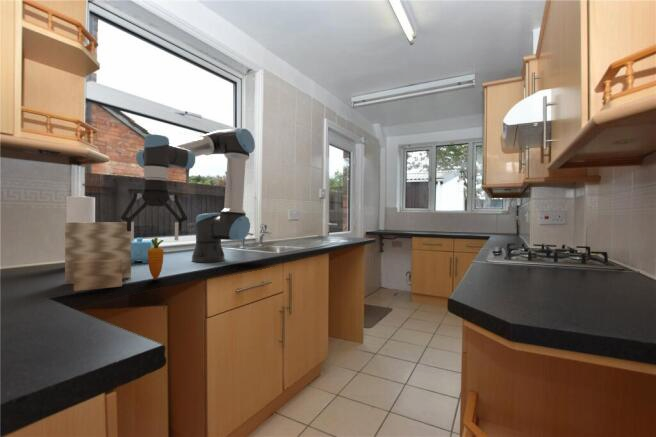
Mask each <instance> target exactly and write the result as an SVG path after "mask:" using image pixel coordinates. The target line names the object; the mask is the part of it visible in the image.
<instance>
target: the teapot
mask: <svg viewBox="0 0 656 437" xmlns="http://www.w3.org/2000/svg"><path fill="white" fill-rule="evenodd" d="M151 240H152V239H151ZM151 240H144V238H143V237H137V238H136V240H134V242H131V265H132V264H135V262H137V261H141V263H142V264H148V250H149V249H150V248H153V247H154V245H153V243H152V241H151Z"/></svg>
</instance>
